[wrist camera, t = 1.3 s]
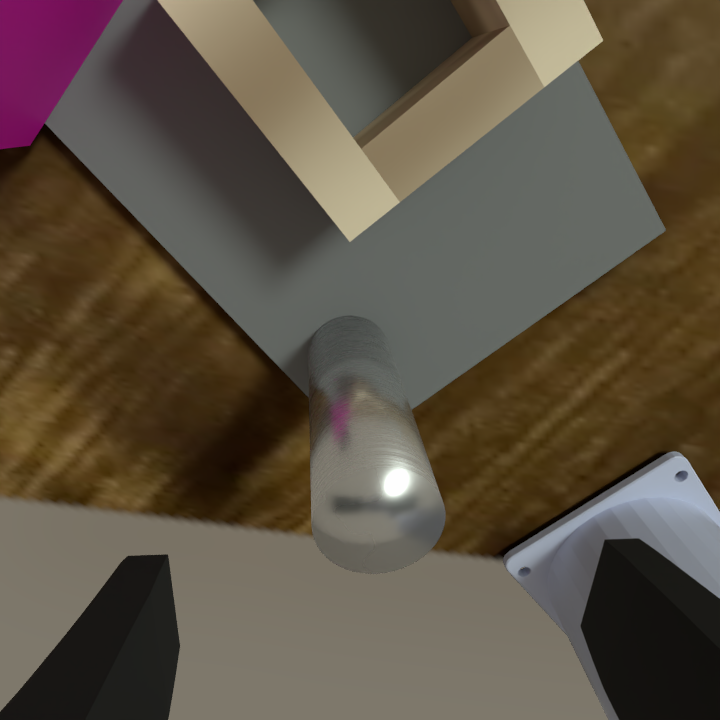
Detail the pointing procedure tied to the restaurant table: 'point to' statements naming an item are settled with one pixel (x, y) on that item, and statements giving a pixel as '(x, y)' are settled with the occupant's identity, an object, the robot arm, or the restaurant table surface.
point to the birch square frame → (407, 115)
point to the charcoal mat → (390, 232)
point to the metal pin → (366, 454)
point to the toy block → (42, 58)
